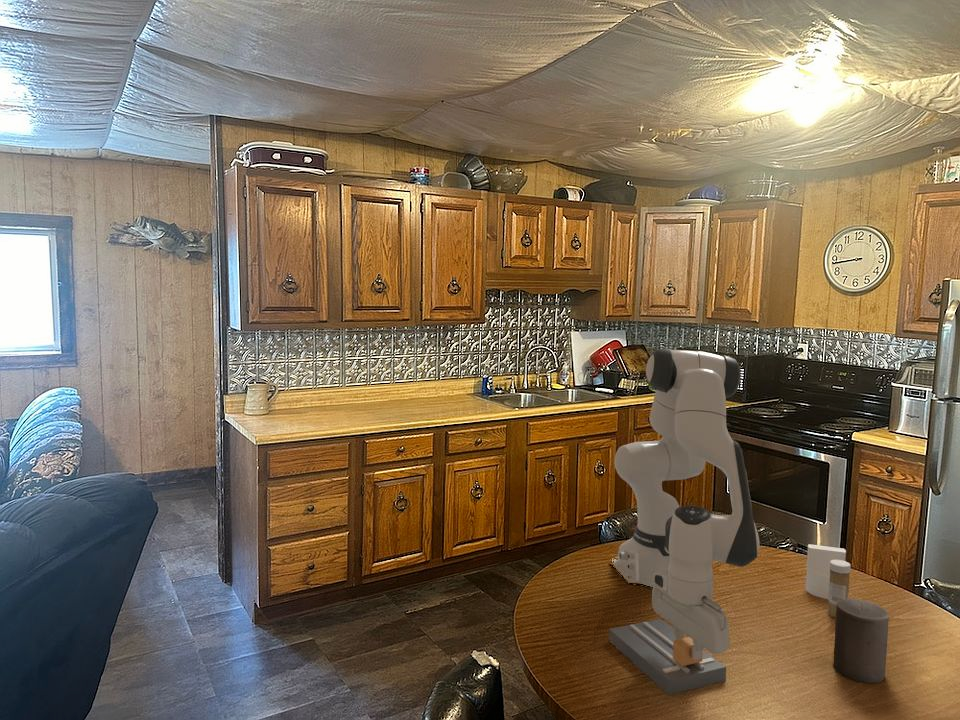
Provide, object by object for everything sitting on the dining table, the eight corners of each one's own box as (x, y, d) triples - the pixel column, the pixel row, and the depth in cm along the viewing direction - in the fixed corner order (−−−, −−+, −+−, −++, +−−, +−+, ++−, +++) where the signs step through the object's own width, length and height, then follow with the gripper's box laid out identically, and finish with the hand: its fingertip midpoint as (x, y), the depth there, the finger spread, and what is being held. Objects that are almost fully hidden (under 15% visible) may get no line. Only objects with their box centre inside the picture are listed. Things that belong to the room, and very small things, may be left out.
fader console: (608, 641, 153) (609, 626, 153) (660, 630, 158) (660, 616, 158) (669, 695, 133) (669, 677, 132) (725, 680, 138) (726, 663, 137)
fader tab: (672, 662, 138) (673, 640, 138) (692, 657, 140) (693, 635, 140) (682, 670, 136) (682, 647, 135) (702, 665, 137) (702, 642, 137)
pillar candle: (826, 671, 141) (830, 602, 140) (840, 653, 148) (844, 588, 147) (879, 689, 135) (883, 618, 133) (890, 669, 142) (895, 601, 140)
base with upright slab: (806, 595, 177) (809, 551, 176) (804, 582, 185) (806, 540, 184) (845, 601, 174) (848, 556, 172) (841, 587, 182) (843, 544, 181)
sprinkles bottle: (851, 616, 166) (854, 563, 164) (841, 621, 163) (844, 567, 162) (833, 608, 169) (836, 557, 168) (823, 613, 167) (826, 561, 166)
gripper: (739, 606, 128) (736, 675, 129) (671, 566, 147) (669, 627, 148) (712, 612, 126) (709, 682, 127) (647, 570, 145) (645, 632, 146)
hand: (687, 652), depth 138 cm, fingers closed on fader tab, 3 cm apart
